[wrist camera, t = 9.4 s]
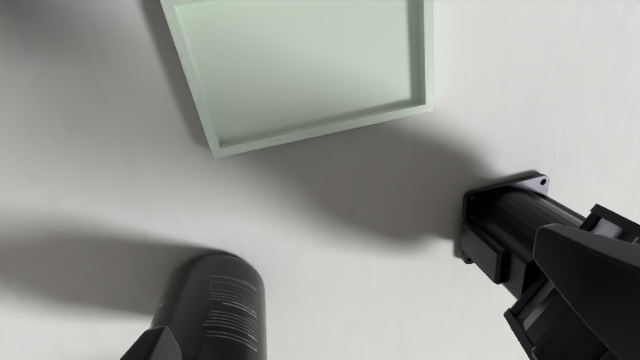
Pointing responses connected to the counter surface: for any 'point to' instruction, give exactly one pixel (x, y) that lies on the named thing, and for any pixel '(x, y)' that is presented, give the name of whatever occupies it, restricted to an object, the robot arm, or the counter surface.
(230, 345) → the supplement bottle
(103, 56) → the counter surface
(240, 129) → the tray
